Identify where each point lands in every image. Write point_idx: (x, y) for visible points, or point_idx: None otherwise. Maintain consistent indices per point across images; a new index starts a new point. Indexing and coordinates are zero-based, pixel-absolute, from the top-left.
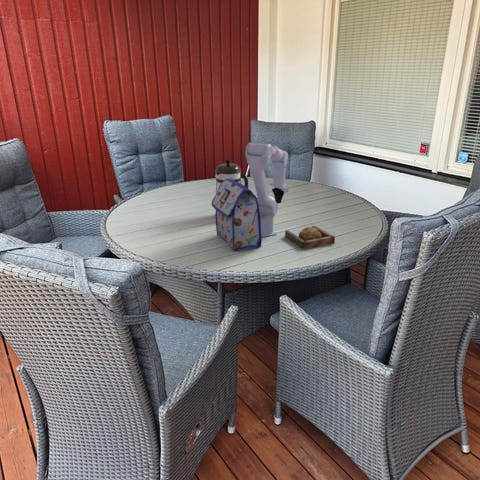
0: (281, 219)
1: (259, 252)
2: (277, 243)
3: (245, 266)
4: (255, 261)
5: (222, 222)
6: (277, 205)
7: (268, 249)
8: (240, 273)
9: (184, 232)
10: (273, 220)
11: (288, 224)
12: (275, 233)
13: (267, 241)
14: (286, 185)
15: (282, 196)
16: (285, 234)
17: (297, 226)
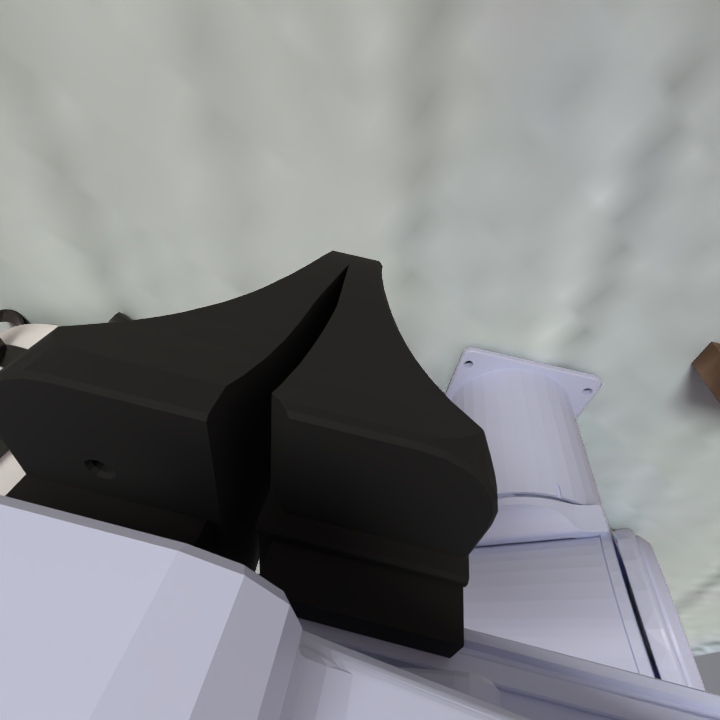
0: (325, 45)
1: (666, 556)
2: (700, 459)
3: (692, 627)
4: (707, 601)
5: None
6: (687, 641)
7: (693, 525)
8: (708, 651)
9: (258, 560)
10: (588, 474)
11: (517, 100)
12: (591, 387)
13: (614, 471)
14: (301, 632)
15: (398, 338)
16: (709, 381)
17: (667, 40)
